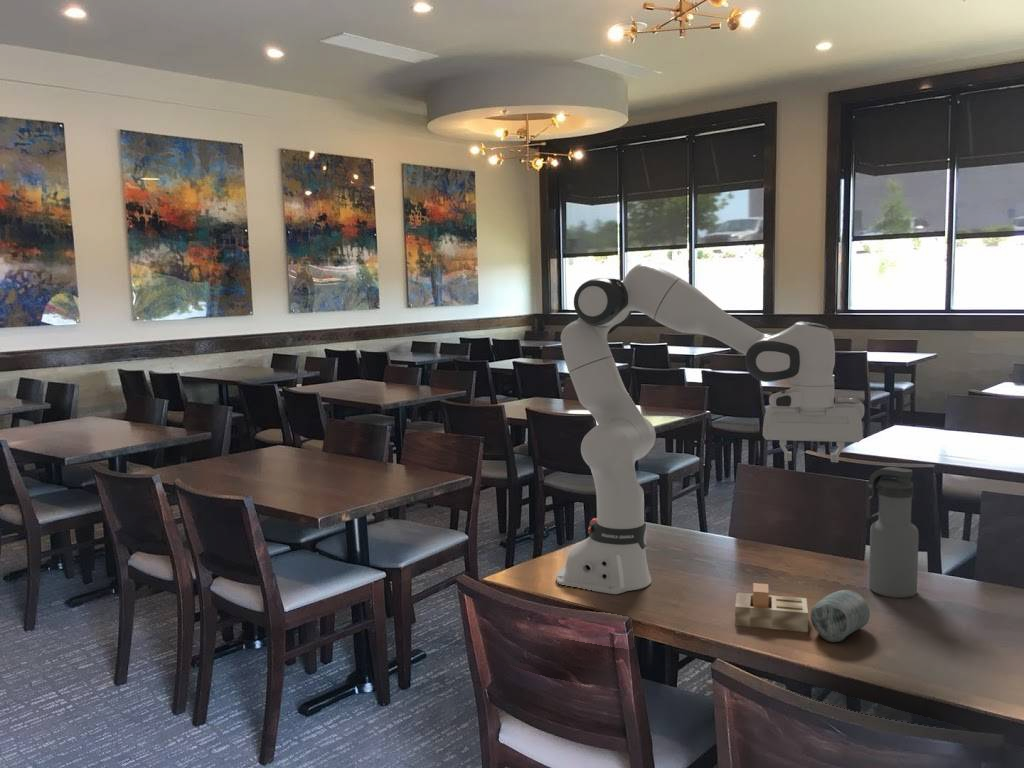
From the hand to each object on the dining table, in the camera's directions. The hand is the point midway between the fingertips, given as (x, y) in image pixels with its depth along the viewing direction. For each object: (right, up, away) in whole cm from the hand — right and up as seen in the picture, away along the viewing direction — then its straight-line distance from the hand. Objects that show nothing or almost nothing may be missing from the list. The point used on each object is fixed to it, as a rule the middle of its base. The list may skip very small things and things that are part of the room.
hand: (811, 461), depth 174 cm
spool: (0, -33, -14) cm, 36 cm away
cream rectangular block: (-11, -32, -7) cm, 35 cm away
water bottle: (+21, -30, +8) cm, 37 cm away
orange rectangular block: (-13, -32, -7) cm, 36 cm away
